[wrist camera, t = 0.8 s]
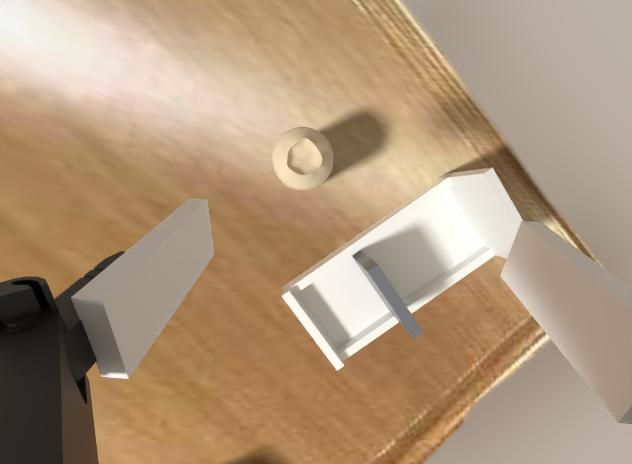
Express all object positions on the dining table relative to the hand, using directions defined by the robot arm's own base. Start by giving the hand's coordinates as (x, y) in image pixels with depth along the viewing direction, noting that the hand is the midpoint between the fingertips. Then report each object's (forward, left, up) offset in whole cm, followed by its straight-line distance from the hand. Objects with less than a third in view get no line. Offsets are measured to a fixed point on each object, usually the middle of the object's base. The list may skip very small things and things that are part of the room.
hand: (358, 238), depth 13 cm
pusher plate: (+11, +1, -23) cm, 25 cm away
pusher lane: (+11, +3, -24) cm, 26 cm away
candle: (-5, +1, -24) cm, 25 cm away
